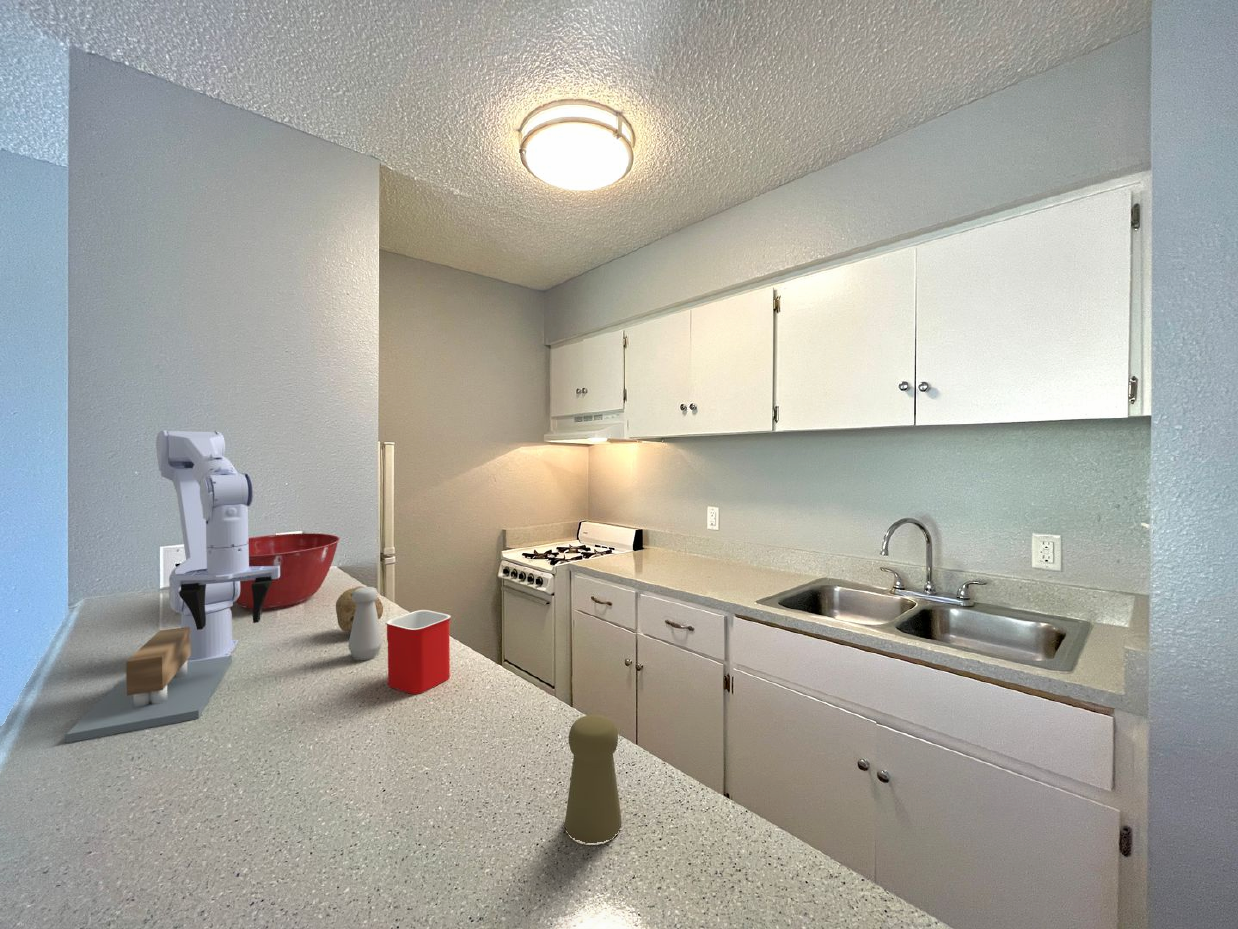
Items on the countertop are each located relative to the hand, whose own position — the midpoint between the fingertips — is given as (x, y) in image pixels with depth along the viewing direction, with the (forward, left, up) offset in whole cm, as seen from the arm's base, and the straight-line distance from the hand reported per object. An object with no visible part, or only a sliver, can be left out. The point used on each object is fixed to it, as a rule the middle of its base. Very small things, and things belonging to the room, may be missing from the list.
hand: (229, 624), depth 87 cm
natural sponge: (-14, +20, -10) cm, 26 cm away
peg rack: (+3, -8, -9) cm, 13 cm away
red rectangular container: (+14, +28, -10) cm, 32 cm away
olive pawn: (+59, +42, -10) cm, 73 cm away
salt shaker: (0, +21, -10) cm, 23 cm away
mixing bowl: (-48, +1, -10) cm, 49 cm away
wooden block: (+3, -8, -6) cm, 10 cm away
